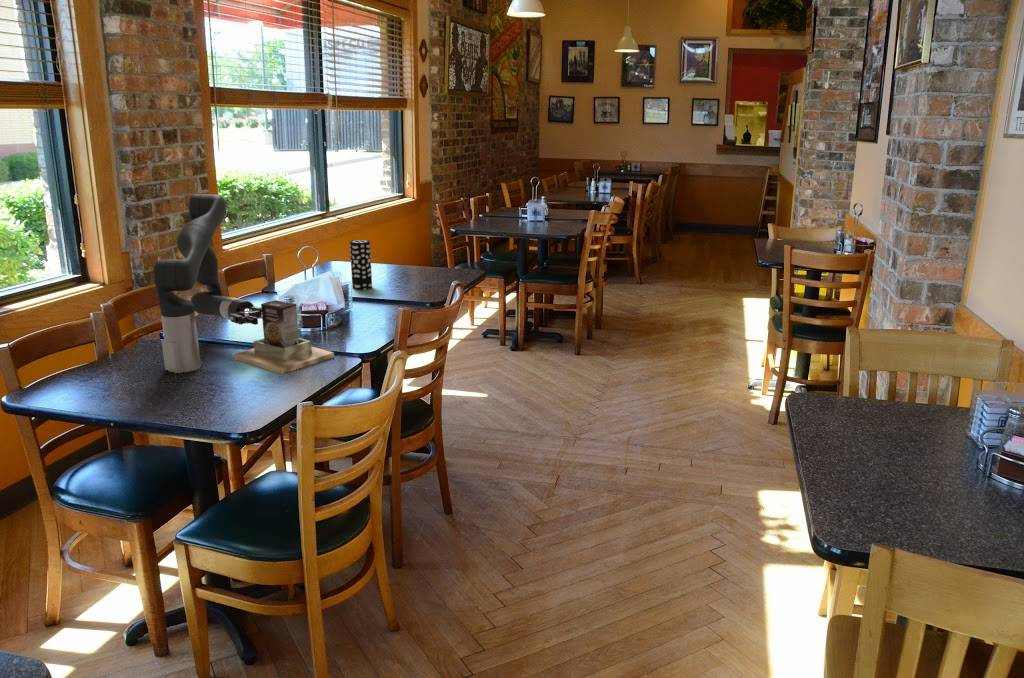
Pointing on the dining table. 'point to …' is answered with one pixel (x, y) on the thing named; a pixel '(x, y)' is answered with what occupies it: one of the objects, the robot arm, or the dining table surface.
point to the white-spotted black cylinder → (361, 264)
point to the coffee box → (280, 323)
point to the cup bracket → (283, 356)
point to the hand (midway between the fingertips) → (268, 318)
